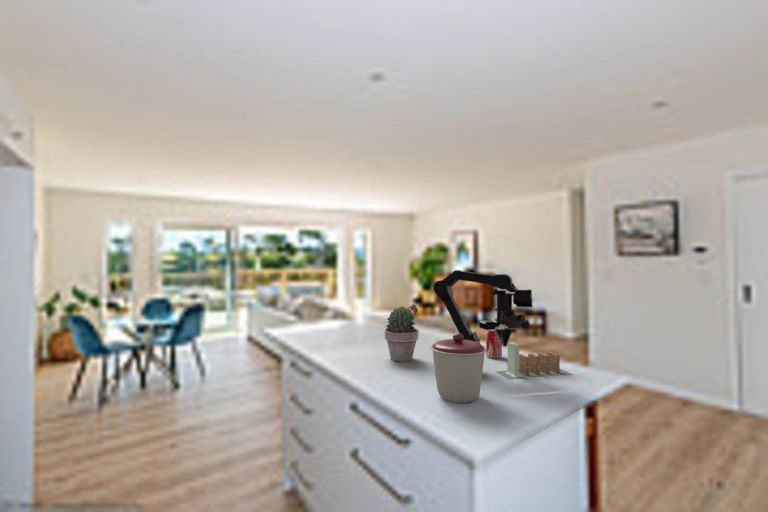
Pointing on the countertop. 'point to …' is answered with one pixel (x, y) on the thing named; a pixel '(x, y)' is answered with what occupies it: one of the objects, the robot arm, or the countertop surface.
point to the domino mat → (531, 375)
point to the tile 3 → (534, 364)
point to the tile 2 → (523, 364)
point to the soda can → (493, 344)
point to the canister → (458, 368)
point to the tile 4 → (544, 363)
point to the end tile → (554, 362)
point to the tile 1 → (513, 359)
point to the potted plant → (401, 334)
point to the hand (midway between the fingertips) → (504, 346)
